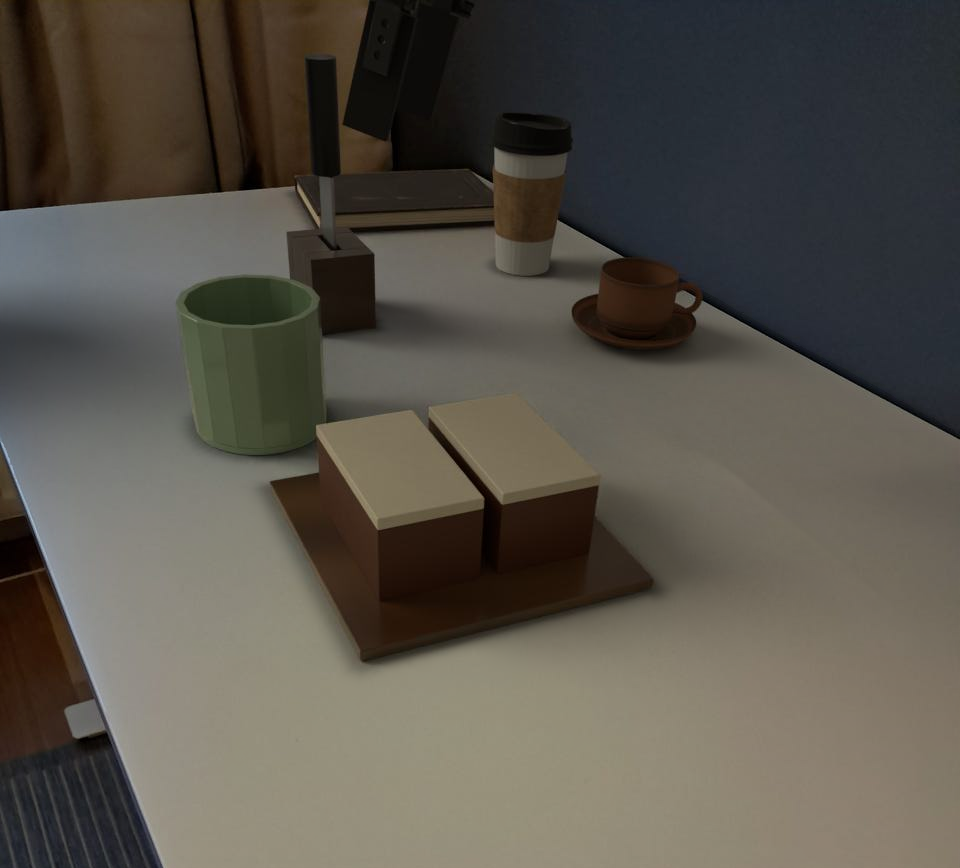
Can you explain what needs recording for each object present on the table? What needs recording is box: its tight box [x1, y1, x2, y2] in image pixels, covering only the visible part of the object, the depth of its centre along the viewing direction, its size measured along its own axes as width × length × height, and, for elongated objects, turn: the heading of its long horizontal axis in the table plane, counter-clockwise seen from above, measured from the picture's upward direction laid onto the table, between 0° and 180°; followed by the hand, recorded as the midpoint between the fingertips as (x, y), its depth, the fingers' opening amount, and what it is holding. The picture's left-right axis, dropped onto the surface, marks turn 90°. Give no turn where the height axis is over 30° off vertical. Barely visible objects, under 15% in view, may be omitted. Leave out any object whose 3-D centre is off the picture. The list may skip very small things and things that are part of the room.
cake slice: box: [427, 392, 601, 574], centre depth 66 cm, size 12×7×6 cm, turn 24°
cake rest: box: [316, 409, 484, 601], centre depth 63 cm, size 12×7×6 cm, turn 24°
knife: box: [303, 53, 342, 251], centre depth 88 cm, size 4×3×22 cm
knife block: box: [286, 226, 377, 336], centre depth 93 cm, size 8×6×7 cm
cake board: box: [269, 471, 655, 662], centre depth 67 cm, size 20×20×1 cm
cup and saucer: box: [571, 256, 703, 350], centre depth 93 cm, size 12×12×6 cm
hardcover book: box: [293, 168, 495, 233], centre depth 121 cm, size 16×23×2 cm
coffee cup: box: [490, 111, 574, 277], centre depth 103 cm, size 8×8×15 cm
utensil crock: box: [175, 274, 328, 456], centre depth 74 cm, size 10×10×10 cm
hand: (391, 123), depth 63 cm, fingers open, 13 cm apart
